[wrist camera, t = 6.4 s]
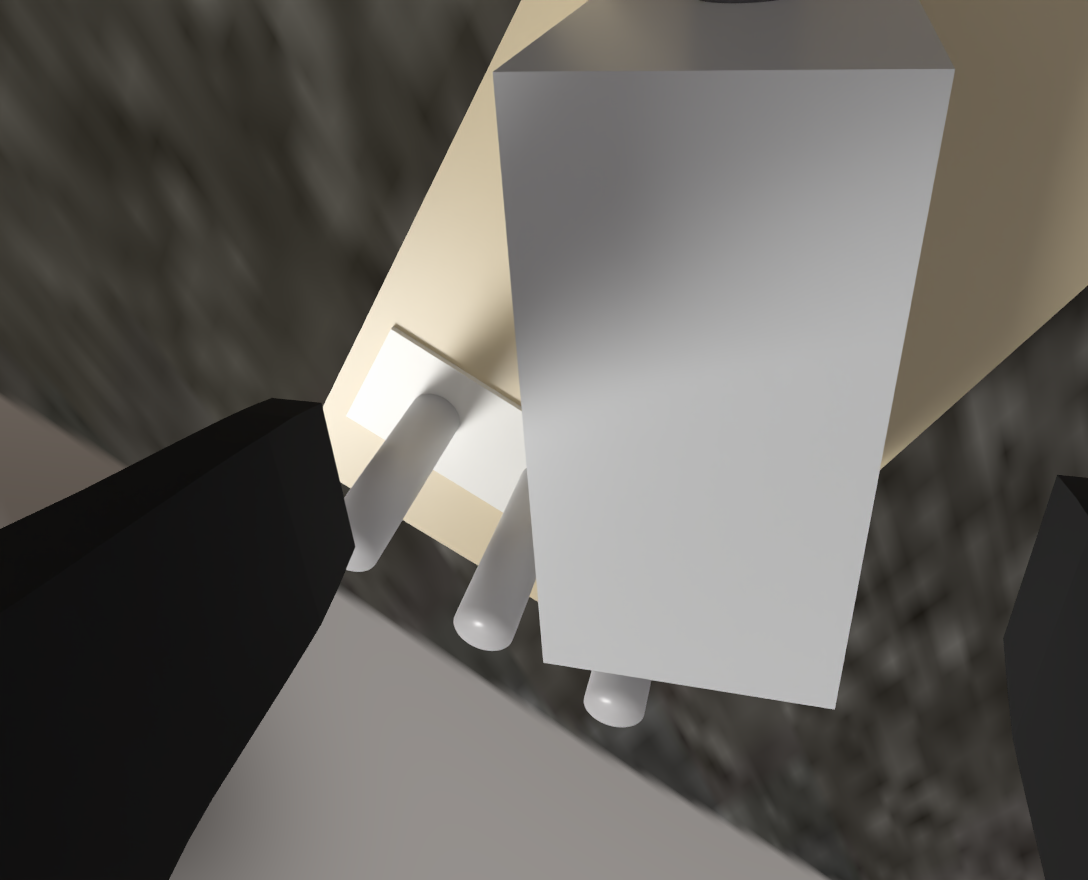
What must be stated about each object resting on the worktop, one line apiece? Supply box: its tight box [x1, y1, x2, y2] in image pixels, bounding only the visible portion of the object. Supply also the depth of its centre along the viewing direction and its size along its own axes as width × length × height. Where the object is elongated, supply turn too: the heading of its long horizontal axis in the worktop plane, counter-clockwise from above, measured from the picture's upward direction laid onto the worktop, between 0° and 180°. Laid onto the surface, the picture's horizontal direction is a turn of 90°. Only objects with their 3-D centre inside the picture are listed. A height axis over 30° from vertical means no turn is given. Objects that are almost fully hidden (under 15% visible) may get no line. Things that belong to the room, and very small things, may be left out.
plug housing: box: [493, 0, 955, 709], centre depth 10 cm, size 4×14×5 cm, turn 3°
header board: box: [323, 0, 1088, 727], centre depth 13 cm, size 9×16×5 cm, turn 150°
